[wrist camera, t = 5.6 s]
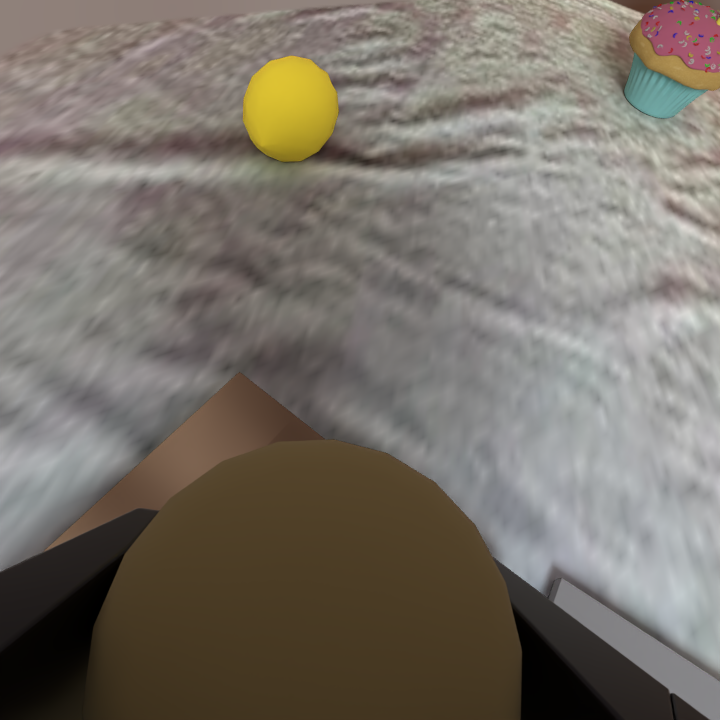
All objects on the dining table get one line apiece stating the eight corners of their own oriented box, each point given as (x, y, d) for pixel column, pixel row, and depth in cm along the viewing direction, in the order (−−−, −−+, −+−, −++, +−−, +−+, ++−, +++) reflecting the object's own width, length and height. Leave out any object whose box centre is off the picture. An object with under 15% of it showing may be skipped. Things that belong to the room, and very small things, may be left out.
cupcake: (714, 121, 44) (852, -43, 34) (656, 143, 40) (791, -32, 30) (641, 64, 47) (747, -102, 37) (581, 81, 43) (680, -98, 33)
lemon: (303, 198, 31) (304, 126, 26) (226, 162, 32) (213, 85, 27) (353, 128, 34) (362, 51, 29) (281, 95, 34) (279, 14, 30)
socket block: (263, 1071, 13) (264, 1146, 11) (-72, 697, 16) (-121, 701, 14) (501, 606, 20) (529, 599, 18) (240, 398, 23) (239, 371, 21)
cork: (158, 574, 15) (-2, 414, 6) (355, 526, 17) (482, 341, 7) (178, 840, 12) (-71, 1394, 3) (414, 748, 14) (739, 907, 5)
